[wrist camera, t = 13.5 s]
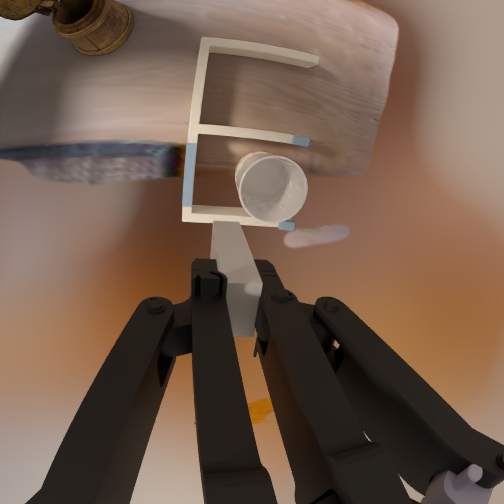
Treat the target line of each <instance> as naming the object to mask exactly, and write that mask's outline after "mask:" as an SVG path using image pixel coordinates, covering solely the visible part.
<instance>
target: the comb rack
mask: <svg viewBox="0 0 504 504" xmlns="http://www.w3.org/2000/svg"><path fill="white" fill-rule="evenodd" d="M209 53H220V54H229V55H238V56H246V57H253V58H259V59H265V60H271V61H276V62H282V63H287V64H291V65H296V66H301V67H305V68H310V67H312V66H315V65H317V64H318V63H319V56H316V55H313V54H309V53H305V52H300V51H296V50H292V49H287V48H282V47H277V46H272V45H266V44H260V43H254V42H247V41H240V40H232V39H223V38H212V37H201V43H200V49H199V55H198V61H197V68H196V75H195V82H194V89H193V97H192V105H191V113H190V122H189V132H188V142H187V147H186V159H185V171H184V185H183V202H182V203H183V204H182V206H183V210H182V221H183V222H184V221H185V222H204V223H213V221H233V222H239V223H240V225H253V226H268V227H278V228H279V229H280V230H289V231H294V227H295V222H294V221H293V219H292V218H290V219H288V220H286V221H283V222H280V223H272V224H271V223H263V222H260V221H258V220H256V219H254V218H252V217H251V216H250V215H249V214H248V213H247V212H246V211H245V209H244V208H239V207H224V206H223V207H222V206H207V205H192V201H193V200H192V199H193V186H194V174H195V163H196V152H197V142H198V134H211V135H224V136H234V137H244V138H253V139H261V140H269V141H276V142H283V143H289V144H294V145H300V146H306V147H309V142H310V138H307V137H303V136H298V135H293V134H286V133H280V132H273V131H266V130H258V129H250V128H242V127H232V126H222V125H210V124H199V123H200V115H201V106H202V99H203V91H204V84H205V77H206V70H207V63H208V57H209Z"/></svg>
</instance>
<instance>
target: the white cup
mask: <svg viewBox="0 0 504 504" xmlns="http://www.w3.org/2000/svg"><path fill="white" fill-rule="evenodd" d="M235 182H236V187H237V191H238V194H239V197H240V201H241V204H242V206H243V208H244V209H245V211H246V212H247V213H248V214H249V215H250V216H251V217H252V218H254V219H256V220H258V221H260V222H263V223H271V224H272V223H280V222H283V221H286V220H288V219H290V218H291V217H293V216H294V215H295V214H297V212H298V211H299V210H300V209H301V208H302V206H303V204H304V202H305V200H306V197H307V192H308V184H307V179H306V176H305V174H304V172H303V170H302V169H301V167H300V166H299V165H298V164H297V163H295V162H294V161H292V160H291V159H289V158H286V157H283V156H280V155H277V154H274V153H269V152H263V151H256V152H250V153H248V154H247V155H245V156H244V157H242V158H241V159H240V161H239V163H238V164H237V166H236V169H235Z"/></svg>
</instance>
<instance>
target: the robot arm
mask: <svg viewBox="0 0 504 504" xmlns="http://www.w3.org/2000/svg"><path fill="white" fill-rule="evenodd" d="M191 266H192V267H191V296H190V297H189V299H187V300H186V301H185V302H182V303H179V304H175V305H173V304H172V302H171V301H169V300H168V299H166V298H163V297H150V298H147V299H145V300H143V301H142V302H141V303H140V304H139V305H138V307H137V308H136V310H135V312H134V313H133V315H132V316H131V318H130V320H129V321H128V323H127V324H126V326H125V328H124V329H123V331H122V333H121V335H120V336H119V338H118V339H117V341H116V343H115V345H114V346H113V348H112V349H111V351H110V353H109V355H108V356H107V358H106V360H105V362H104V363H103V365H102V367H101V369H100V370H99V372H98V374H97V376H96V377H95V379H94V381H93V383H92V385H91V387H90V388H89V390H88V392H87V394H86V396H85V398H84V400H83V401H82V403H81V405H80V407H79V409H78V411H77V413H76V415H75V417H74V419H73V421H72V423H71V425H70V427H69V429H68V431H67V433H66V435H65V437H64V439H63V441H62V443H61V445H60V447H59V449H58V451H57V454H56V456H55V458H54V460H53V462H52V464H51V467H50V469H49V471H48V474H47V476H46V478H45V480H44V483H43V485H42V488H41V489H40V490H39V491H38V492H37V493H36V494H35V495H34V496H33V497H32V498H31V499H30V500H28V501H27V502H26V503H25V504H130V500H131V497H132V493H133V490H134V486H135V483H136V480H137V477H138V473H139V470H140V467H141V463H142V460H143V457H144V454H145V451H146V448H147V444H148V441H149V438H150V435H151V432H152V429H153V426H154V423H155V420H156V417H157V413H158V411H159V408H160V404H161V402H162V399H163V396H164V393H165V390H166V387H167V384H168V381H169V378H170V375H171V373H172V370H173V367H174V364H175V361H176V356H180V355H184V354H188V353H192V369H193V370H192V371H193V390H194V406H195V419H196V431H197V443H198V453H199V463H200V472H201V481H202V488H203V496H204V504H277V500H276V496H275V493H274V489H273V485H272V481H271V478H270V475H269V473H268V471H267V469H266V468H265V467H263V466H262V464H261V461H260V458H259V454H258V449H257V445H256V441H255V437H254V432H253V428H252V423H251V419H250V414H249V410H248V405H247V401H246V396H245V391H244V386H243V382H242V377H241V372H240V367H239V362H238V357H237V352H236V347H235V342H234V337H249V336H254V331H255V328H256V331H257V338H256V344H255V349H254V357H256V355H257V352H258V354H259V358H260V362H261V365H262V369H263V372H264V376H265V380H266V383H267V387H268V391H269V394H270V398H271V402H272V405H273V409H274V412H275V416H276V419H277V423H278V426H279V430H280V433H281V437H282V440H283V444H284V447H285V450H286V454H287V457H288V460H289V464H290V467H291V471H292V474H293V477H294V481H295V502H296V504H488V502H489V499H490V496H491V493H492V490H493V488H494V487H495V486H496V485H497V484H499V483H500V482H502V481H503V480H504V445H502V444H501V443H499V442H497V441H495V440H493V439H491V438H489V437H487V436H486V435H484V434H482V433H480V432H478V431H476V430H475V429H473V428H471V427H470V426H469V425H468V423H467V422H466V421H465V420H463V418H461V416H460V415H459V414H458V413H457V412H456V411H455V410H454V409H453V408H452V407H451V406H450V405H449V404H448V403H447V402H446V401H445V400H444V399H443V398H442V397H441V396H440V395H439V394H438V393H437V392H436V391H435V390H434V389H433V388H432V387H431V386H429V384H428V383H427V382H425V380H424V379H423V378H422V377H420V376H419V375H418V374H417V373H416V372H415V371H414V370H413V369H412V368H411V367H410V366H409V365H408V364H407V363H406V362H405V361H404V360H403V359H402V358H401V357H400V356H399V355H398V354H397V353H396V352H395V351H394V350H393V349H391V348H390V346H388V345H387V344H386V343H385V342H384V341H383V340H382V339H381V338H380V337H379V336H378V335H377V334H376V333H375V332H374V331H373V330H372V329H371V328H370V327H368V326H367V325H366V324H365V323H364V322H363V321H362V320H361V319H360V318H359V317H358V316H357V315H356V314H355V313H354V312H353V311H351V310H350V309H349V308H348V307H347V306H346V305H345V304H344V303H343V302H341V301H340V300H338V299H336V298H333V297H321V298H318V299H317V301H316V303H315V305H311V304H306V303H301V302H299V301H298V300H297V297H296V296H295V295H294V294H293V293H292V292H290V291H289V290H286V289H284V286H283V284H282V282H281V280H280V278H279V276H278V274H277V272H276V270H275V268H274V266H273V265H272V264H271V263H270V262H269V261H267V260H254V259H253V257H252V254H251V252H250V249H249V247H248V244H247V241H246V239H245V236H244V233H243V231H242V228H241V226H240V223H239V222H233V221H213V230H212V244H211V257H210V259H197V258H196V259H195V260H194V261H193V262H192V265H191ZM335 340H336V341H337V342H338V344H340V345H339V348H338V349H337V348H336V347H335V346H334V345H333V344H334V341H335ZM363 431H364V432H363ZM364 433H365V434H366V435H367V436H368V438H369V439H370V440H371V441H372V442H370V441H369V440H368V439H367V438H366V436H365V434H364ZM398 474H399V475H400V476H401V477H402V478H403V479H404V480H405V481H406V482H407V484H409V485H410V486H411V487H412V488H414V489H415V490H416V491H418V492H419V493H421V494H422V495H424V496H425V497H424V498H423V499H422V501H421V503H419V502H417V501H415V500H413V499H411V498H410V497H409V496H408V493H407V491H406V489H405V487H404V485H403V483H402V481H401V479H400V477H399V475H398Z"/></svg>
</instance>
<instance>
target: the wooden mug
mask: <svg viewBox="0 0 504 504" xmlns="http://www.w3.org/2000/svg"><path fill="white" fill-rule="evenodd" d="M35 12H36V13H40V14H42V15H45V16H49V15H50V16H52V17H53V19H52V20H53V24H54V25H55V29H56V31H57V32H58V33H59V34H60V35H61V36H62V37H64V38H69V39H70V40H71V41H72V43H73V46H74V47H76V48H77V49H78V50H79V51H80V52H81V53H83V54H87V55H102V54H108V53H110V52H112V51H114V50H116V49H117V48H118V47H119V46H121V45H122V44H123V43H124V42H125V40H126V39H127V38H128V36H129V35H130V33H131V31H132V28H133V24H134V16H133V14H132V12H131V10H130V9H129V8H128V7H127V6H125V5H123V4H121V3H119V2H116V1H114V0H60V1H59V2H58V0H0V16H1V17H3V18H5V19H10V20H15V21H16V20H22V19H24V18H26V17H28V16H30V15H31V14H33V13H35Z"/></svg>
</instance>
